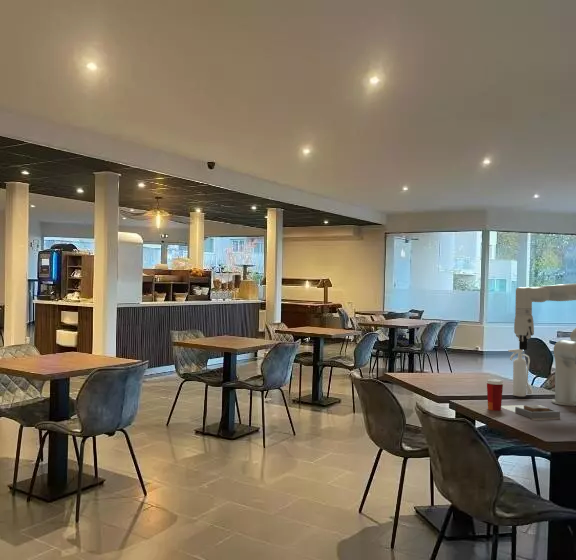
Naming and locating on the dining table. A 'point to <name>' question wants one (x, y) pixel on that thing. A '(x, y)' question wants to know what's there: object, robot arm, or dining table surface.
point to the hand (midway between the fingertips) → (523, 349)
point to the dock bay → (539, 415)
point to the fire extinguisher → (520, 374)
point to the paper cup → (494, 394)
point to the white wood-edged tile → (536, 408)
